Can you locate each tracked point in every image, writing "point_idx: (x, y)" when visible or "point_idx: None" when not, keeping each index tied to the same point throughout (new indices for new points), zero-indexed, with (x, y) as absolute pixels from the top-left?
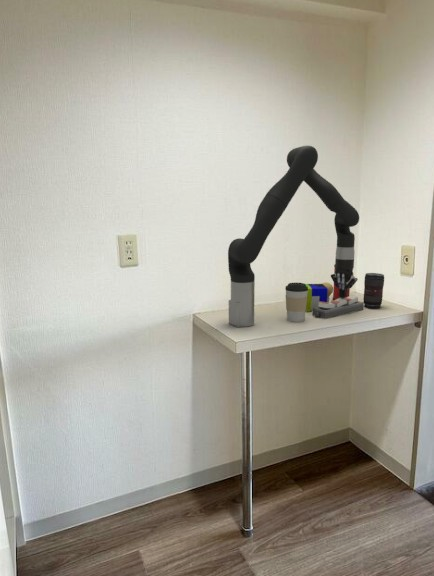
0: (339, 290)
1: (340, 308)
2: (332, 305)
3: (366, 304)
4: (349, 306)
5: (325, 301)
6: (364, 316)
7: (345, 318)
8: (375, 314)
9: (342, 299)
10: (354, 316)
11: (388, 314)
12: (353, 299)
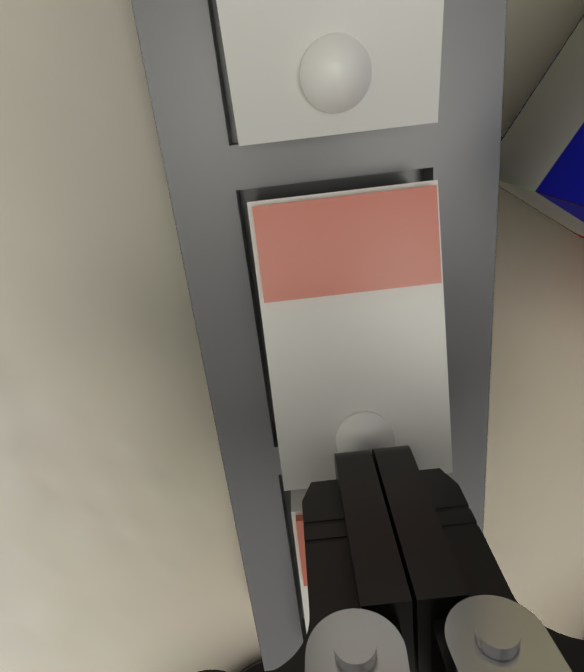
0: (496, 570)
1: (174, 211)
2: (225, 39)
3: None
4: (218, 428)
5: (581, 169)
6: (24, 430)
7: (20, 141)
8: (55, 571)
9: (336, 437)
10: (68, 329)
11: (9, 658)
12: (304, 610)
